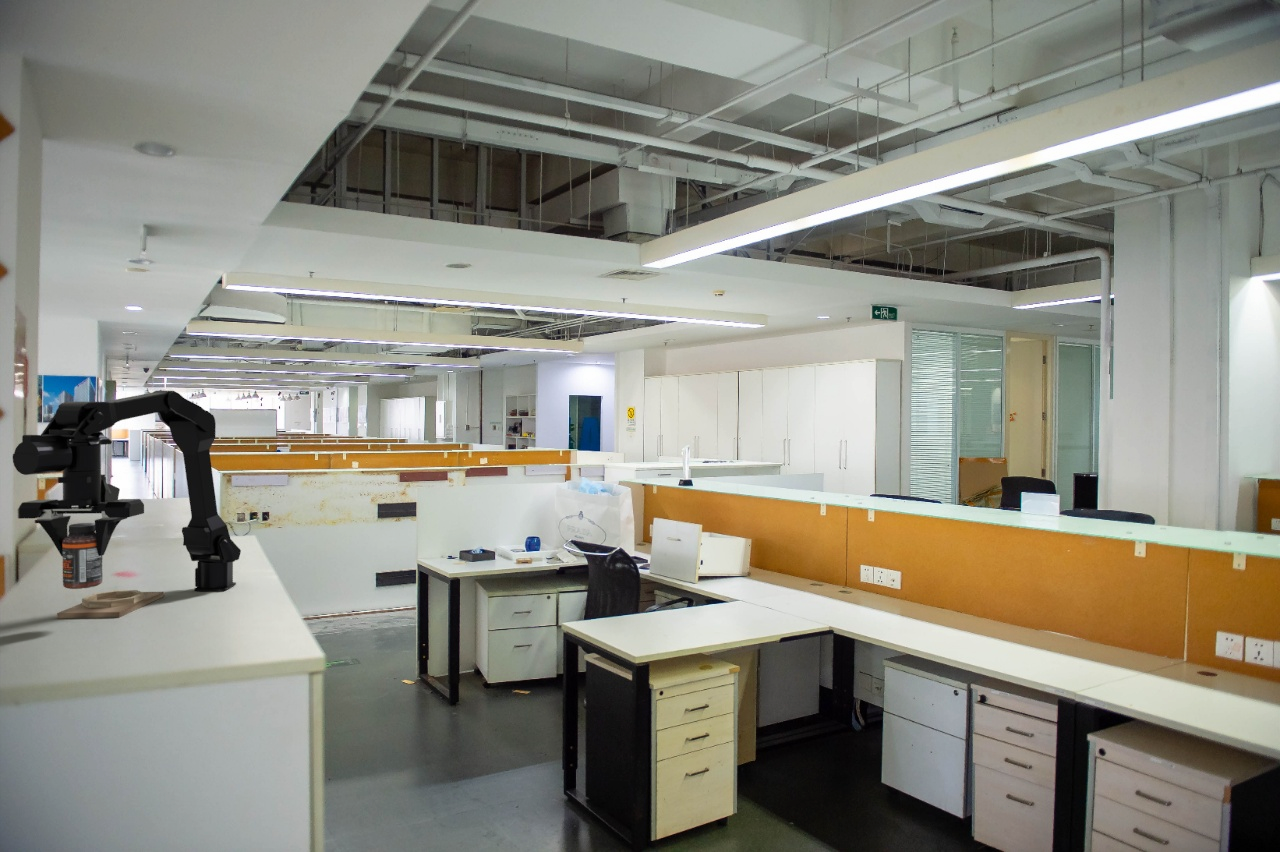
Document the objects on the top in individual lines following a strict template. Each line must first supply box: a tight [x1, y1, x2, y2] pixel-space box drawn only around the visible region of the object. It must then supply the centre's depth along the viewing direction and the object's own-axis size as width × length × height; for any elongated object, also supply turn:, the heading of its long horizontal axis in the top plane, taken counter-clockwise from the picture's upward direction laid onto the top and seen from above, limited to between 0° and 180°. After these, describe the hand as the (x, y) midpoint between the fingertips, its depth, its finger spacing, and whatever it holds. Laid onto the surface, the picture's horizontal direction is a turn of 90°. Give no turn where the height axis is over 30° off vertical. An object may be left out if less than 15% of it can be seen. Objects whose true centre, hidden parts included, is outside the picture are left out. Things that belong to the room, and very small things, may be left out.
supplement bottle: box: [61, 522, 103, 590], centre depth 143 cm, size 6×6×11 cm
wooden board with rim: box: [56, 589, 165, 619], centre depth 157 cm, size 11×17×2 cm, turn 6°
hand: (82, 555), depth 143 cm, fingers closed on supplement bottle, 6 cm apart
